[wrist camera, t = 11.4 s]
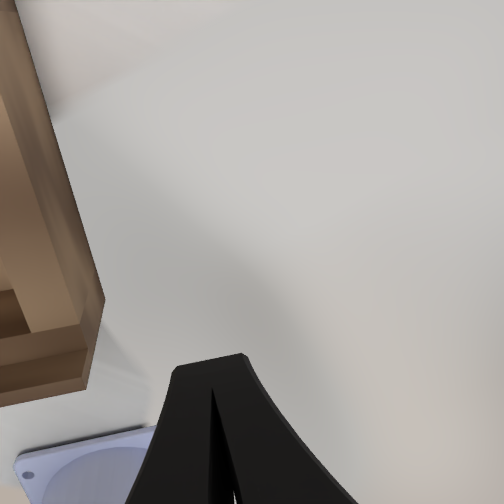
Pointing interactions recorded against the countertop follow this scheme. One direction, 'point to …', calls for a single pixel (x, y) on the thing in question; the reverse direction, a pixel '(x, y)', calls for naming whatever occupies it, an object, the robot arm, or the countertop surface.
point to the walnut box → (39, 242)
